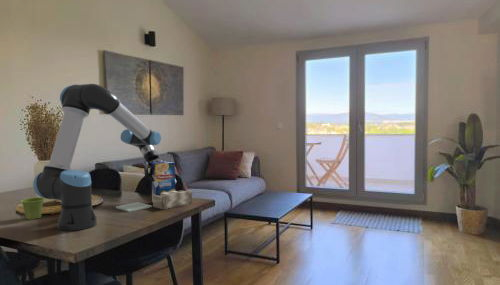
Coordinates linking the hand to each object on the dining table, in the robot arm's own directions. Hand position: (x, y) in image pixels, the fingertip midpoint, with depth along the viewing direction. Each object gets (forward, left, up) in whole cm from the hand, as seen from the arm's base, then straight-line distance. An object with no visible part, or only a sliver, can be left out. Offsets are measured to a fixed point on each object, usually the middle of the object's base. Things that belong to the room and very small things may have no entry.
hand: (166, 184), depth 196 cm
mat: (-18, +4, -10) cm, 21 cm away
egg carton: (-1, -7, -10) cm, 12 cm away
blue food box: (0, +3, -10) cm, 11 cm away
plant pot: (-59, +21, -10) cm, 63 cm away
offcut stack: (-1, -6, -9) cm, 11 cm away
